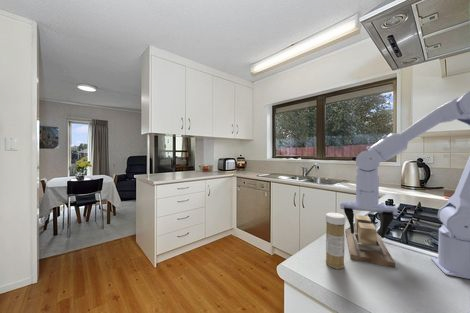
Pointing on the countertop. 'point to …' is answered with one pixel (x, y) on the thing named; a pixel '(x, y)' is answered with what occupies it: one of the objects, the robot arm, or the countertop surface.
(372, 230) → the block
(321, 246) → the countertop surface
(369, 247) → the rail board
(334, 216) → the sprinkles bottle
